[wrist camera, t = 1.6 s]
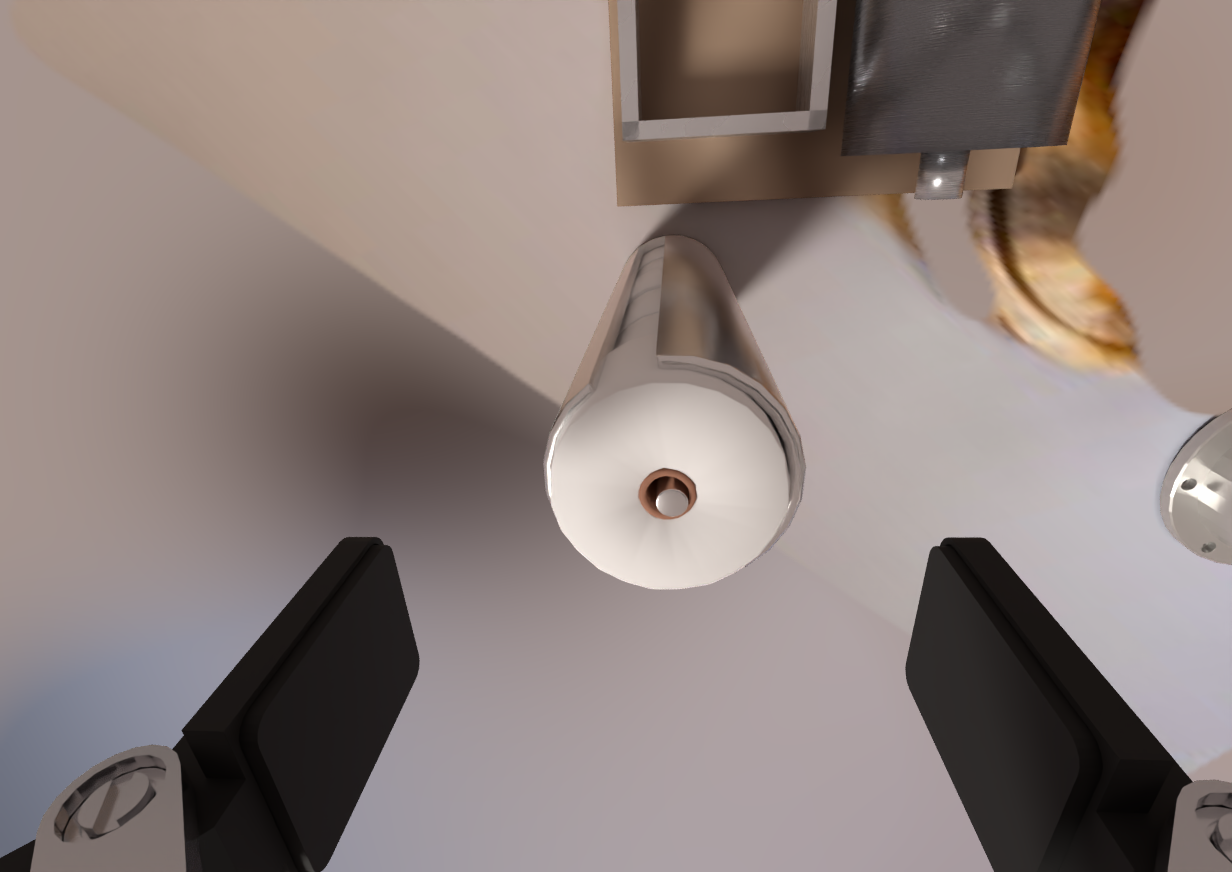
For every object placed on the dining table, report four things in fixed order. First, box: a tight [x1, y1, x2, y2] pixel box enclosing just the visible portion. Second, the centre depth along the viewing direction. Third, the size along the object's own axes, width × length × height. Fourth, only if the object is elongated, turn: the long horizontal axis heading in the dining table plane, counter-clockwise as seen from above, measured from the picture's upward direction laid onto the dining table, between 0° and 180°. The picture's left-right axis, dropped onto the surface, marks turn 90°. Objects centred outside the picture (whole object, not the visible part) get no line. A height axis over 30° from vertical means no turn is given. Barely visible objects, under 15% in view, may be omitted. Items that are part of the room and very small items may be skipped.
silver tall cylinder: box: [543, 235, 806, 589], centre depth 25 cm, size 6×6×25 cm
